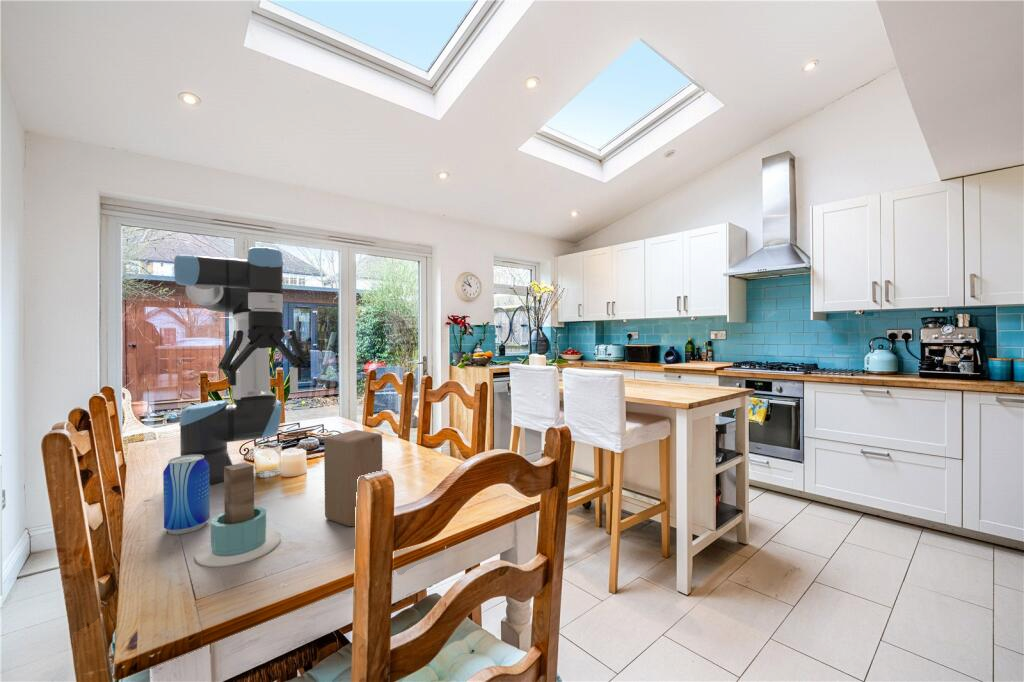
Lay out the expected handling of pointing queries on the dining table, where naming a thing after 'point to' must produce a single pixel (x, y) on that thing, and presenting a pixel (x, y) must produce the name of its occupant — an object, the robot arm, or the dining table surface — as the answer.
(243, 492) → the tall brown block
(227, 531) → the teal cup on saucer
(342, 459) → the wooden block
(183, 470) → the beer can
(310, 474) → the dining table surface
